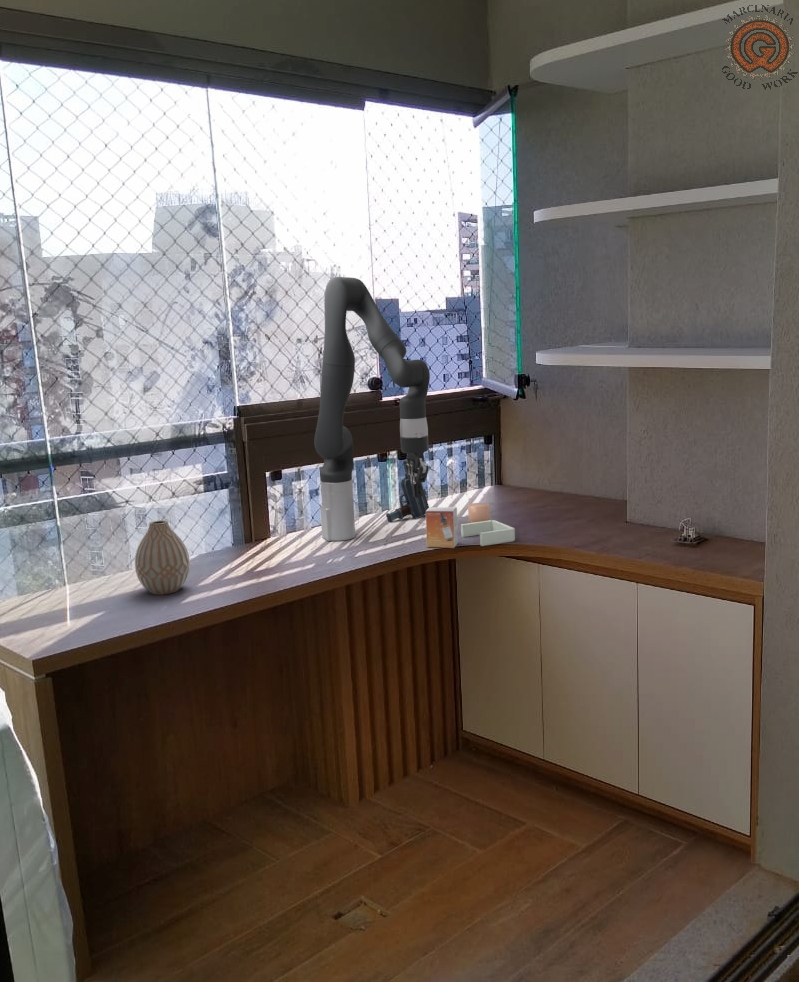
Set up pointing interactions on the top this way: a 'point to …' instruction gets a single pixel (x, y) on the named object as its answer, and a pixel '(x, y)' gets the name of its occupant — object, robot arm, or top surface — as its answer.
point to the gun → (409, 503)
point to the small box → (441, 527)
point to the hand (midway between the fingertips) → (417, 496)
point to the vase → (162, 559)
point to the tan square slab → (478, 512)
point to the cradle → (489, 532)
